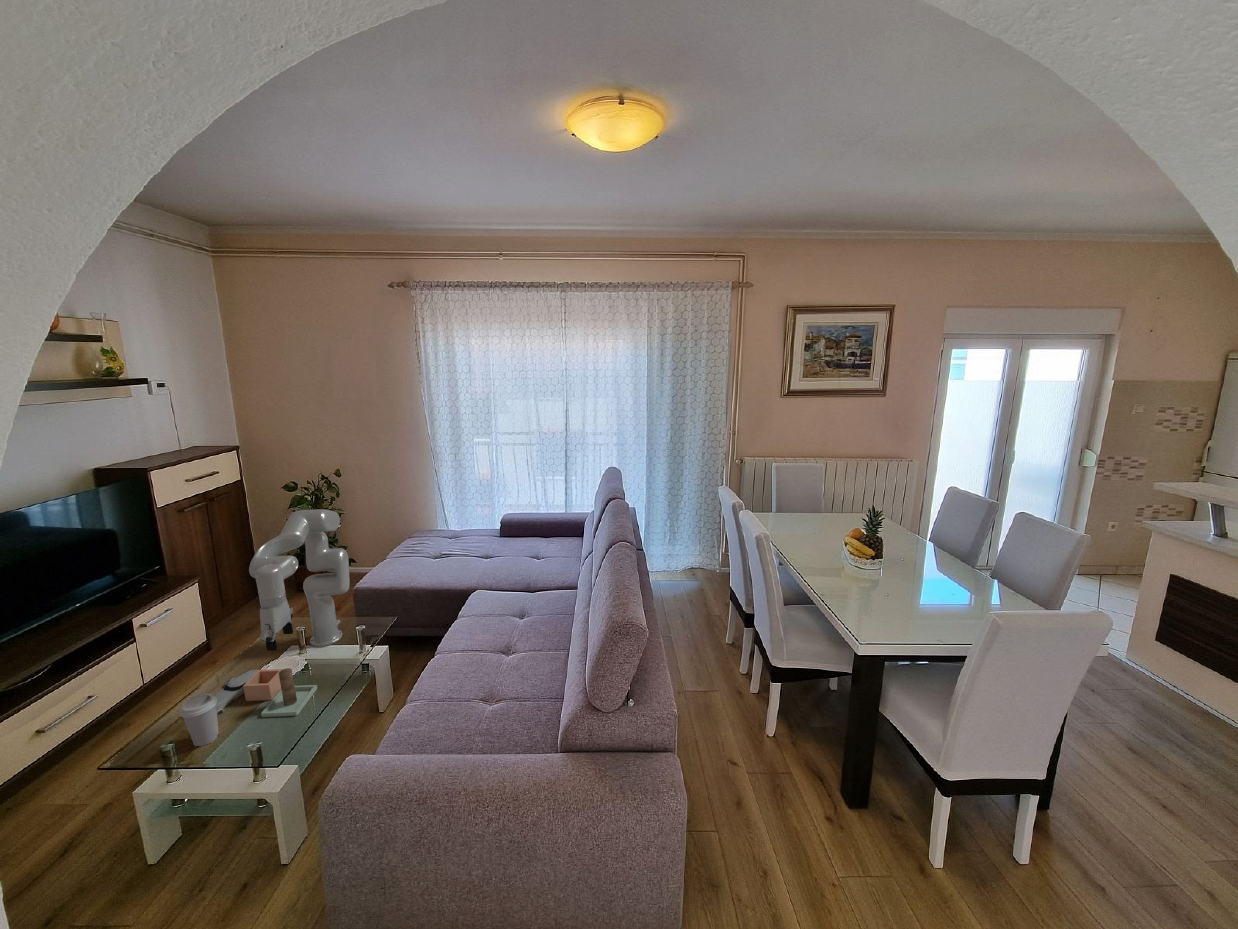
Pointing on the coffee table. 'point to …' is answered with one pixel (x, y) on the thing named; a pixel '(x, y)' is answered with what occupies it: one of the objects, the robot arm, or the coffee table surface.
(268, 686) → the pink storage bin
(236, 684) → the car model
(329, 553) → the robot arm
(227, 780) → the coffee table surface
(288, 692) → the peg
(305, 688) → the tray
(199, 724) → the coffee cup
